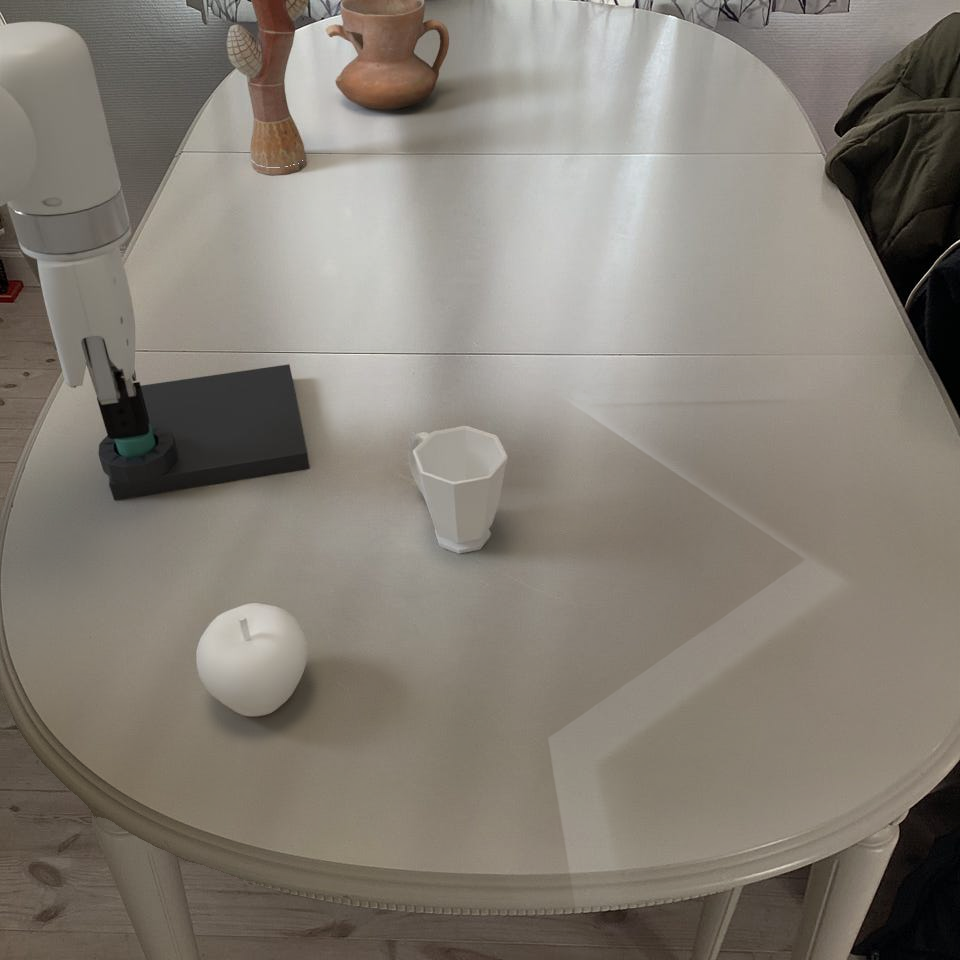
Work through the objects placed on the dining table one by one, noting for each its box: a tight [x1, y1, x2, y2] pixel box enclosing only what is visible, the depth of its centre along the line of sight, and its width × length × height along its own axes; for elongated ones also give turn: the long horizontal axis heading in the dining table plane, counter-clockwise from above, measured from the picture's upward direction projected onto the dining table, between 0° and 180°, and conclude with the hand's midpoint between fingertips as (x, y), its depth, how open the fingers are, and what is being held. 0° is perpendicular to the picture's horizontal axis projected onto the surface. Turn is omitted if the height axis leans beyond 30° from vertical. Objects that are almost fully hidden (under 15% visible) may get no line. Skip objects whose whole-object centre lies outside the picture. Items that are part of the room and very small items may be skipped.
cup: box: [407, 425, 509, 555], centre depth 78 cm, size 7×10×8 cm
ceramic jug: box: [325, 0, 450, 110], centre depth 150 cm, size 18×14×14 cm
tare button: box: [115, 424, 156, 458], centre depth 83 cm, size 3×3×2 cm
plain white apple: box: [195, 602, 308, 717], centre depth 65 cm, size 7×7×8 cm
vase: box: [226, 0, 309, 176], centre depth 127 cm, size 10×7×30 cm
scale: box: [98, 363, 310, 501], centre depth 88 cm, size 16×14×4 cm
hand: (129, 430), depth 82 cm, fingers closed
